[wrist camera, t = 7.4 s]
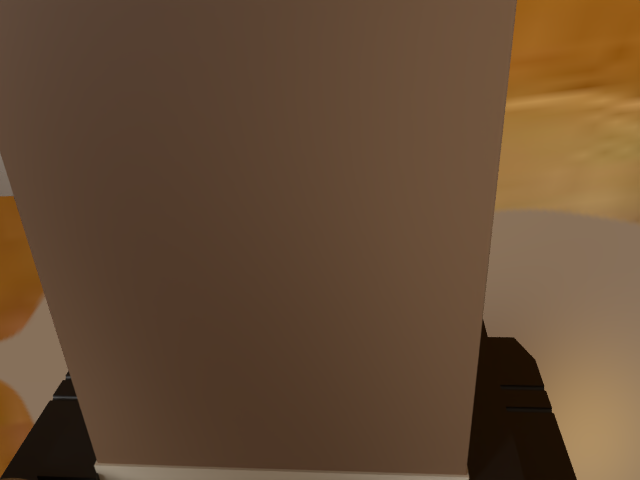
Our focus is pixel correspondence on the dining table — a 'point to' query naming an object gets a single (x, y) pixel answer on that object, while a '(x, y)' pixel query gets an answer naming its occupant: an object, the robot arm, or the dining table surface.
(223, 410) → the batten
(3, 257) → the dining table surface
